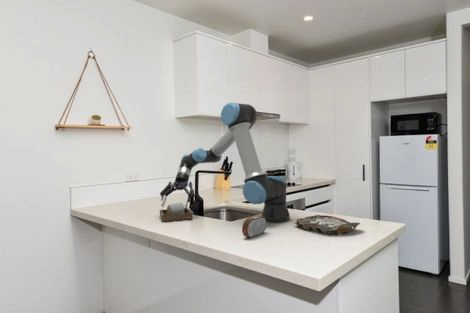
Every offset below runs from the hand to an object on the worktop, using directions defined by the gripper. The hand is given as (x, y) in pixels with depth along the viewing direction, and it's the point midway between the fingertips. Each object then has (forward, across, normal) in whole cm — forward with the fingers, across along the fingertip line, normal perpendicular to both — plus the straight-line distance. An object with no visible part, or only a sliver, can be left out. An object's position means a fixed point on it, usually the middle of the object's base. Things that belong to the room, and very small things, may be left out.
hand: (173, 206), depth 182 cm
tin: (+24, -49, +14) cm, 56 cm away
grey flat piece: (+13, -79, +2) cm, 80 cm away
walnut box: (+3, 0, -7) cm, 8 cm away
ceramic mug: (+4, -1, -6) cm, 7 cm away
